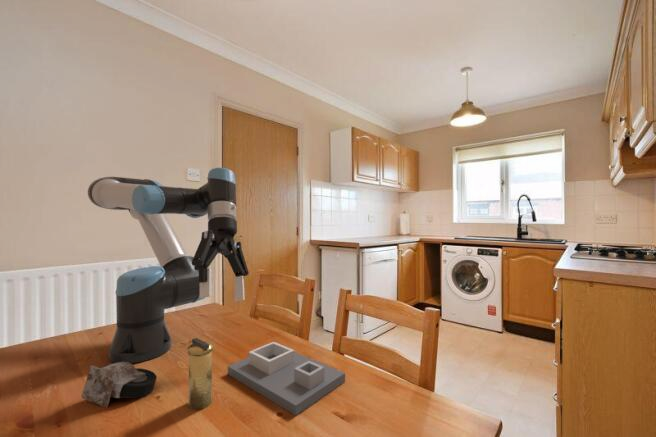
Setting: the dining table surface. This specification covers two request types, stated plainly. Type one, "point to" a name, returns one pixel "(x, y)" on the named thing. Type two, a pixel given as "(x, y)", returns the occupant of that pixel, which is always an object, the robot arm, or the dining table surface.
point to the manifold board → (286, 376)
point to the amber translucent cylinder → (200, 374)
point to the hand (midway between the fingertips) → (223, 299)
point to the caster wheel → (117, 383)
